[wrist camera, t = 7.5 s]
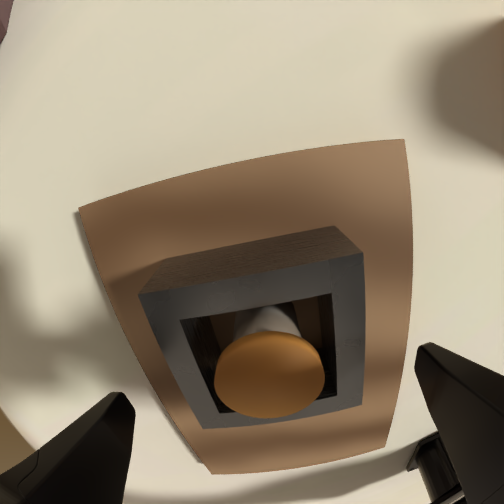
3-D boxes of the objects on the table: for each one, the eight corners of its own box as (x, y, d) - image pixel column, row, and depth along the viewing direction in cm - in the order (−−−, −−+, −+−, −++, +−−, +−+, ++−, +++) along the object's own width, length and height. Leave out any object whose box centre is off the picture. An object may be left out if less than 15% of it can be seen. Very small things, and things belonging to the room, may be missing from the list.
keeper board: (380, 435, 16) (398, 488, 12) (213, 462, 17) (207, 516, 12) (390, 139, 10) (472, 138, 5) (92, 202, 11) (12, 235, 6)
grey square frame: (344, 358, 12) (361, 404, 9) (210, 380, 13) (202, 429, 10) (334, 225, 10) (363, 252, 7) (165, 258, 11) (137, 294, 8)
